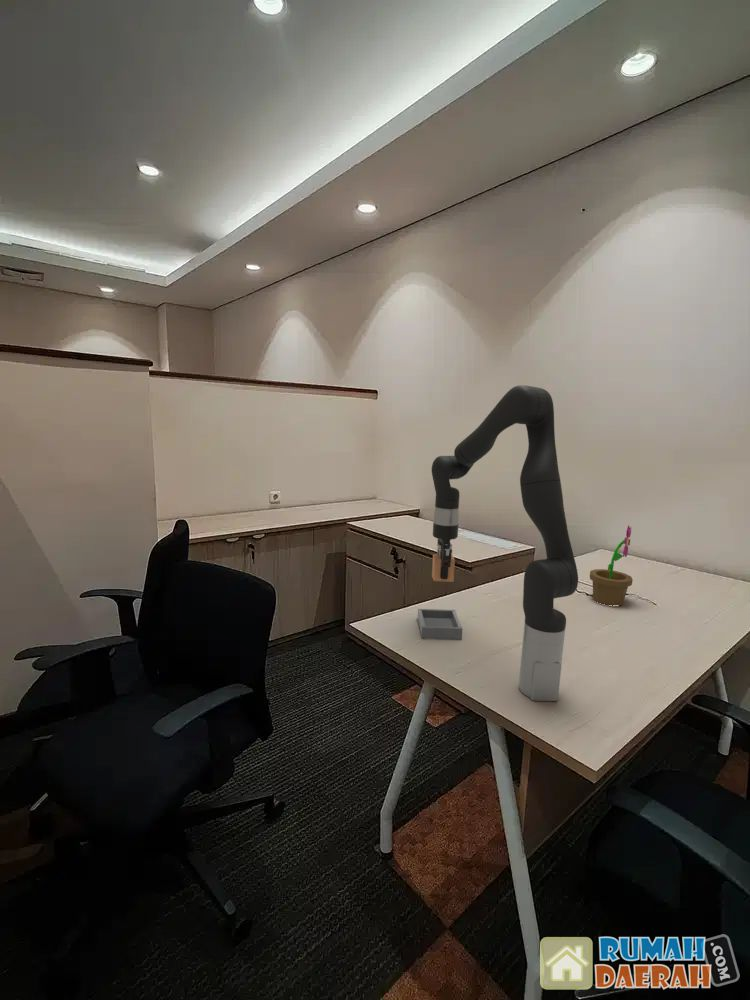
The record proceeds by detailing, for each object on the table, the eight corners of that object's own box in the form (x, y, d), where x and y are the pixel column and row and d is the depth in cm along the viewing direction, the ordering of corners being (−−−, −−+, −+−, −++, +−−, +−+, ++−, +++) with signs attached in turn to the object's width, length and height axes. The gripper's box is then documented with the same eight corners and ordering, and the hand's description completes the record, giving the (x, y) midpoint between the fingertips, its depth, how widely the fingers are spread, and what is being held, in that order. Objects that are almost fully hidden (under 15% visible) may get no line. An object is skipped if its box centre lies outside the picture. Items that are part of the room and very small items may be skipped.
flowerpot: (625, 612, 166) (636, 529, 161) (582, 602, 174) (591, 522, 169) (632, 600, 177) (642, 523, 172) (591, 591, 186) (600, 517, 181)
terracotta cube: (453, 581, 143) (454, 559, 141) (433, 581, 143) (434, 558, 141) (451, 576, 148) (452, 554, 146) (431, 575, 148) (433, 554, 146)
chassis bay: (461, 639, 141) (462, 628, 140) (421, 638, 141) (422, 627, 140) (453, 619, 155) (454, 609, 154) (417, 618, 155) (418, 608, 154)
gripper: (462, 527, 135) (458, 584, 138) (454, 517, 149) (451, 568, 152) (436, 526, 135) (433, 583, 138) (430, 516, 149) (428, 568, 152)
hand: (442, 575), depth 145 cm, fingers closed on terracotta cube, 5 cm apart
